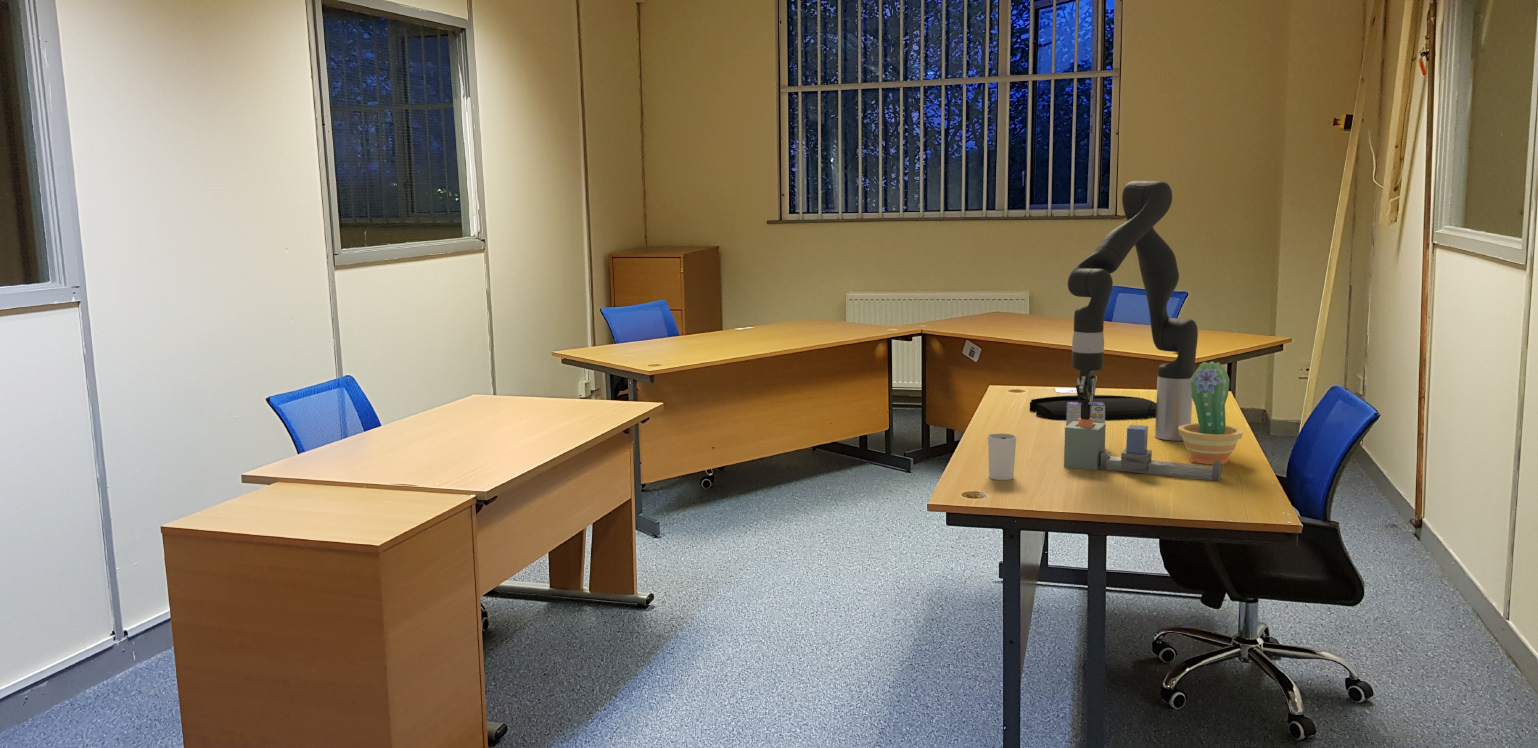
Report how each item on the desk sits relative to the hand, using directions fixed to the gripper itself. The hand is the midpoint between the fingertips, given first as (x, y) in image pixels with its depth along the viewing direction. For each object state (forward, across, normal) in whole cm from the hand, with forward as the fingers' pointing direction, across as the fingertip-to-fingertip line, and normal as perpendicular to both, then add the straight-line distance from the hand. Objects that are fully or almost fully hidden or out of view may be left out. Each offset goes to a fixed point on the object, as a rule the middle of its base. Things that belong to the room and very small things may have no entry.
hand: (1085, 418), depth 263 cm
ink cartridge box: (+12, +19, +4) cm, 23 cm away
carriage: (+12, -1, -13) cm, 17 cm away
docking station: (+12, +71, +11) cm, 73 cm away
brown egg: (+6, 0, 0) cm, 6 cm away
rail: (+12, -1, -18) cm, 21 cm away
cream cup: (+12, -21, +15) cm, 28 cm away
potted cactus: (+12, +18, -27) cm, 35 cm away
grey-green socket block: (+12, 0, 0) cm, 12 cm away
